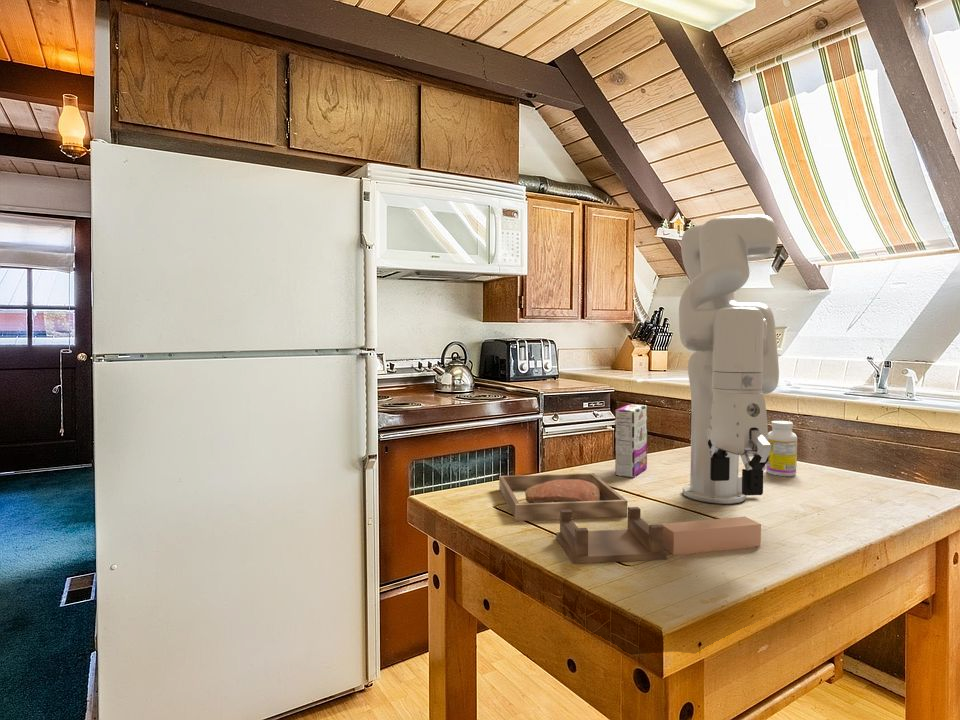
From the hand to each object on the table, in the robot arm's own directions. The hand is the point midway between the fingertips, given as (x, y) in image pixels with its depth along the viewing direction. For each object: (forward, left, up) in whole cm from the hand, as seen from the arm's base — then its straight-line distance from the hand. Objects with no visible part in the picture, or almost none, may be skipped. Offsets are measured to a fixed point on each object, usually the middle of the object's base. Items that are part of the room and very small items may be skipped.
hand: (735, 487), depth 96 cm
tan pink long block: (+4, -1, -10) cm, 11 cm away
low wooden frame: (+23, -28, -10) cm, 37 cm away
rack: (+21, -2, -10) cm, 23 cm away
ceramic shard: (+22, -27, -11) cm, 36 cm away
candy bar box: (-1, -50, -10) cm, 51 cm away
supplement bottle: (-37, -44, -10) cm, 58 cm away
